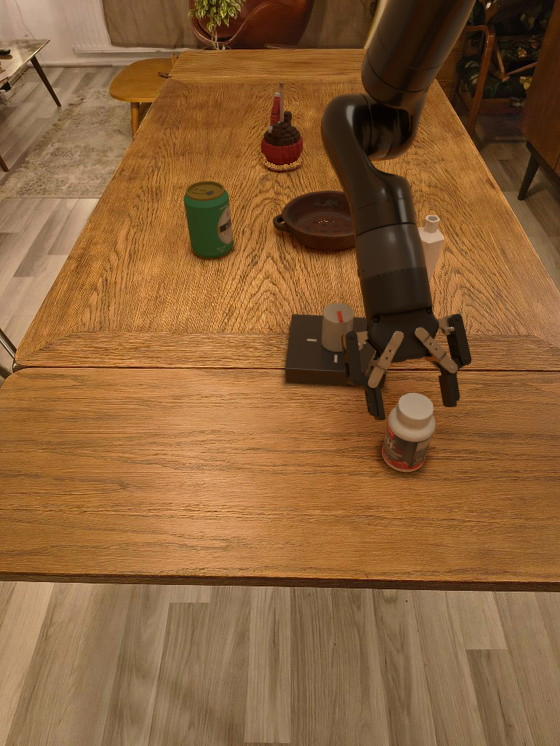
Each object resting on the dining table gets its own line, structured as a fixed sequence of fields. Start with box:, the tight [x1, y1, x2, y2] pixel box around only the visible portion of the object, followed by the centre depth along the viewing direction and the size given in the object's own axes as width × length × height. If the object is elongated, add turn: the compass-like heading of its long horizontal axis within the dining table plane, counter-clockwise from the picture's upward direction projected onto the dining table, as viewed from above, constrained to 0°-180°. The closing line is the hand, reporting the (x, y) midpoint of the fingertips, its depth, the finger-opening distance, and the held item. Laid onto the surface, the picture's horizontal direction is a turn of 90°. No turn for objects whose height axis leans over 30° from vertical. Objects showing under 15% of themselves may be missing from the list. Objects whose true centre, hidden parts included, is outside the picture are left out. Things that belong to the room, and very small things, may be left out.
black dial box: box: [284, 313, 387, 389], centre depth 76 cm, size 14×12×3 cm
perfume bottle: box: [418, 214, 446, 285], centre depth 81 cm, size 5×4×15 cm
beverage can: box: [182, 180, 234, 260], centre depth 94 cm, size 8×8×12 cm
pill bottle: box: [381, 392, 436, 473], centre depth 61 cm, size 5×5×10 cm
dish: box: [272, 189, 356, 251], centre depth 100 cm, size 18×22×5 cm
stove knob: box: [321, 302, 355, 352], centre depth 73 cm, size 4×4×6 cm
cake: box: [260, 81, 304, 172], centre depth 118 cm, size 11×9×18 cm
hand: (415, 413), depth 59 cm, fingers open, 8 cm apart
